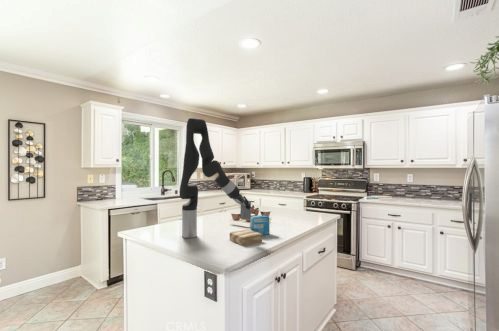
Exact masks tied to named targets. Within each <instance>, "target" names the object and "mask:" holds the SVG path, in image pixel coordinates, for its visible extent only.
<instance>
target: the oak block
mask: <svg viewBox="0 0 499 331" xmlns="http://www.w3.org/2000/svg"><path fill="white" fill-rule="evenodd" d="M229 241H230V242H233V243H235V244H237V245H240V246H242V247H244V246H248V245H253V244H258V243H262V242H263V235H262V234H260V233H257V232H254V231H251V230H250V229H244V230H238V231H237V230H236V231H232V232H229Z"/></svg>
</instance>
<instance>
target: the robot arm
mask: <svg viewBox="0 0 499 331" xmlns="http://www.w3.org/2000/svg"><path fill="white" fill-rule="evenodd" d="M195 134H197V135H200V136H201V141H200V144H199V145H198V146H199V147H198V148H197V146H196V144H195V139H194V138H195V137H194V136H195ZM185 136H186V137H185V149H184V155H183V156H184V157H183V165H182V166H183V167H182V175H181V181H180V186H179V197H180V199H181V200H189V201H187V202H186V203H184V204H183V205H182V206H181V214H182V215H181V222H182V223H181V226H182V227H181V237H182V238H184V239H192V238H196V237H197V236H198V205H199V204H198V201H199V188H198V186H197V185H196V184H191V183H190V184H189V182H190V179H191V178H192V176H193V174H194V173H195V171H196V170H197V169H198V167H199V164H200V158H201V170H202V174H203V176H205V177H206V178H211V177H213V176H215V175H216V174H217V176H216V177H215V179H214V181H215V183H216V184H217V185H218V186H219V187H220V188H221V190H222V191H223V193H225V195H226V196H228V198H229V199H231V200H233V201H234V202H235V203H236V204H239V205H241V204H243V205H244V206H246V207H247V209H250V208H251V209H252V205H251V206H250V205H249V204H248V203H249V202H248V201H249V200H248V199H247V197H246V196H244V195H243V194H241V193H240V191H241V190H240V188H239V187H238V186H237V185H236V184H235V182H234V181H233V180H232V179H230V178H229V176H227V174H226V173H225V171H224V169H223V167H222V165H221V163H220V162H219V161H218V160H214V159H215V155H214V152H213V149H212V146H211V143H210V138H209V130H208V125H207V122H206V120H204V119H202V118H195V117H189V118H188V119H187V121H186V134H185ZM241 201H242V202H241Z"/></svg>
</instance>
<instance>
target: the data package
mask: <svg viewBox="0 0 499 331" xmlns="http://www.w3.org/2000/svg"><path fill="white" fill-rule="evenodd" d="M249 223H250V224H249V225H250V227H249V228H250V229H249V230H251V231H254V232H257V233H260V234H262V236H266V235H267V236H268V235H269V234H270V216H267V215H251V218H250V219H249Z"/></svg>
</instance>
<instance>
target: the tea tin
mask: <svg viewBox="0 0 499 331" xmlns="http://www.w3.org/2000/svg"><path fill="white" fill-rule="evenodd" d="M241 202H242V201H241ZM248 202H249V203H248V204H249V205H250V206H251V208H250V209H247V207H246V206H244V205H243V204H240V219H243V220H250V218H251V217H252V202H251V201H249V200H248Z"/></svg>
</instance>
